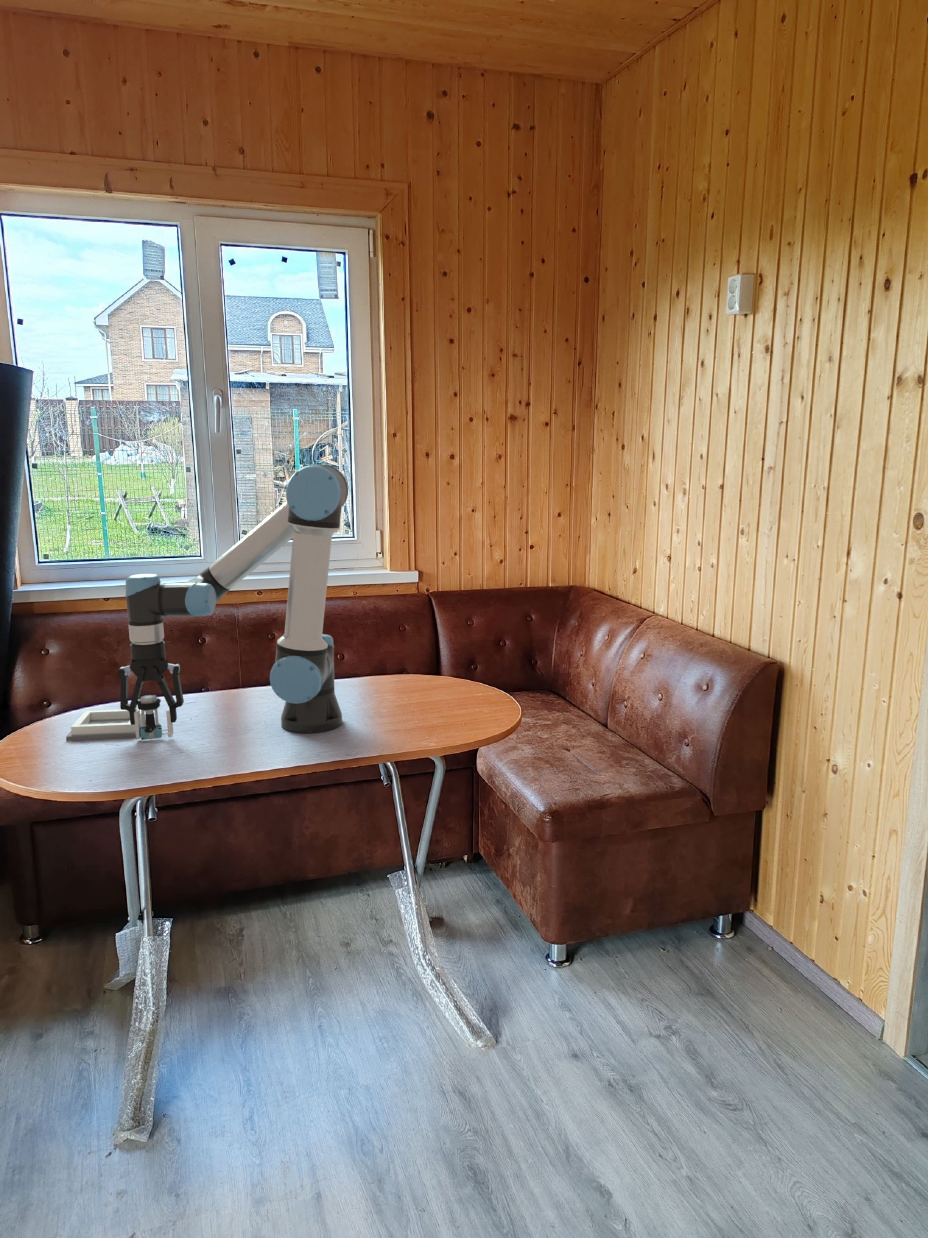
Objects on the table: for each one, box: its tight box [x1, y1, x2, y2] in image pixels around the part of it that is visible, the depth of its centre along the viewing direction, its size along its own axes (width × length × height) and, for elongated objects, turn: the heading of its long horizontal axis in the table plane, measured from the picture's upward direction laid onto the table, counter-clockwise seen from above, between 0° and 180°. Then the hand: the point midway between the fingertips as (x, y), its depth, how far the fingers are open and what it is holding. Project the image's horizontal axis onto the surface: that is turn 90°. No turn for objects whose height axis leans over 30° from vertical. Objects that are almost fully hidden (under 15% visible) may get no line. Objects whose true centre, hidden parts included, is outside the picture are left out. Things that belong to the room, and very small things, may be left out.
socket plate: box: [65, 708, 146, 742], centre depth 207 cm, size 16×15×3 cm
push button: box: [136, 694, 168, 741], centre depth 199 cm, size 7×5×10 cm
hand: (155, 736), depth 200 cm, fingers closed on push button, 6 cm apart
